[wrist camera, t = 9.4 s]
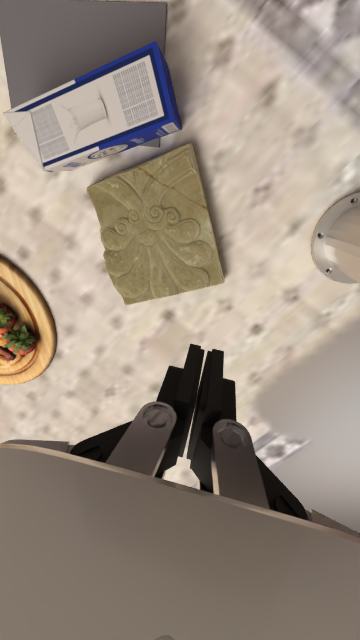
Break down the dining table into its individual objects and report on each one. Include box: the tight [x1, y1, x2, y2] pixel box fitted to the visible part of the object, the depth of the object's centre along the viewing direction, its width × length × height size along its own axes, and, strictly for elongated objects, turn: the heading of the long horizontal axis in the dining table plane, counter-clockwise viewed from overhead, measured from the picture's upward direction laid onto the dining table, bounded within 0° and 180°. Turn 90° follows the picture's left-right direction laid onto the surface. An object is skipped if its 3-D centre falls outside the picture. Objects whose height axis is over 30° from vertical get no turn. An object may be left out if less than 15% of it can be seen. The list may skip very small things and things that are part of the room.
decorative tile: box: [87, 143, 224, 305], centre depth 40 cm, size 19×20×4 cm
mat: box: [0, 0, 167, 147], centre depth 34 cm, size 22×14×1 cm, turn 84°
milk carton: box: [3, 41, 182, 172], centre depth 32 cm, size 7×7×20 cm
